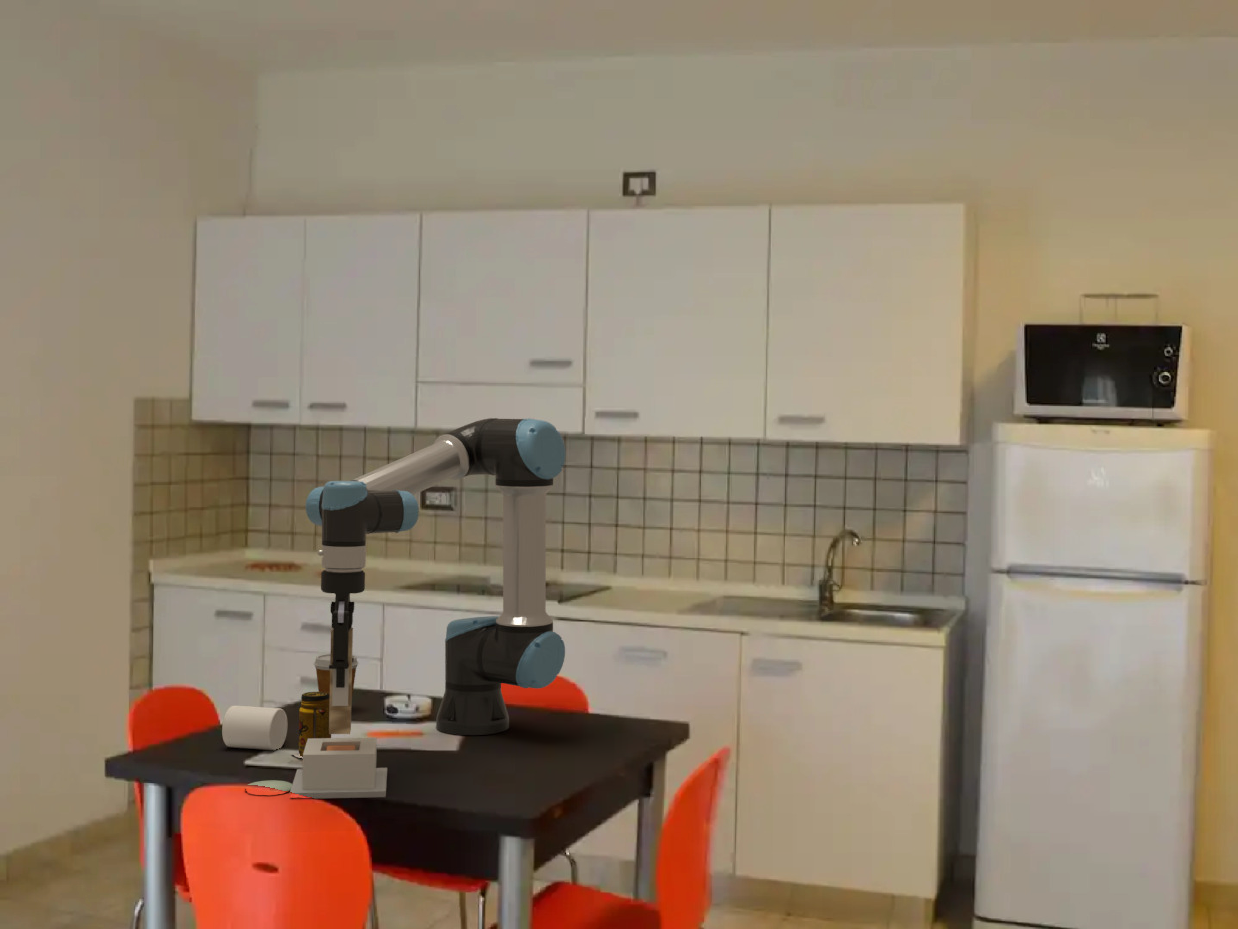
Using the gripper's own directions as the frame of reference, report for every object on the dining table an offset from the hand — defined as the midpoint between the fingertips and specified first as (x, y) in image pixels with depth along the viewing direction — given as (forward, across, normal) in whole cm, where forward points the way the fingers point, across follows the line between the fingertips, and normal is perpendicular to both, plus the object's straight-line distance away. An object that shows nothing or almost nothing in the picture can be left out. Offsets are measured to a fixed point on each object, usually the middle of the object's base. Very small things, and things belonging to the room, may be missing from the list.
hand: (340, 702), depth 246 cm
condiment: (+15, -22, -5) cm, 27 cm away
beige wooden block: (+5, 0, 0) cm, 5 cm away
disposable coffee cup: (+15, -61, -4) cm, 63 cm away
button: (+12, 0, 0) cm, 12 cm away
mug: (+15, -31, -17) cm, 38 cm away
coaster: (+15, +2, -12) cm, 19 cm away
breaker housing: (+15, 0, 0) cm, 15 cm away
